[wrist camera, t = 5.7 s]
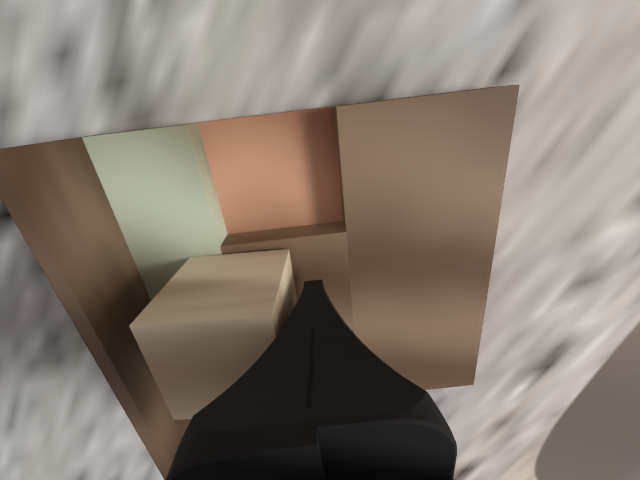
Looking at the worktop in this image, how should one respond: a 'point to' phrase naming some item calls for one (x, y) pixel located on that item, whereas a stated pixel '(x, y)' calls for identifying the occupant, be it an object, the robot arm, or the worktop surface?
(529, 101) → the worktop surface
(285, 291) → the birch block
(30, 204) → the box
